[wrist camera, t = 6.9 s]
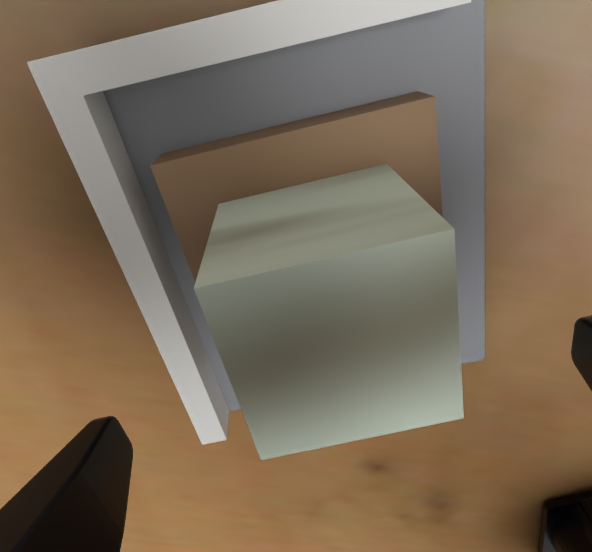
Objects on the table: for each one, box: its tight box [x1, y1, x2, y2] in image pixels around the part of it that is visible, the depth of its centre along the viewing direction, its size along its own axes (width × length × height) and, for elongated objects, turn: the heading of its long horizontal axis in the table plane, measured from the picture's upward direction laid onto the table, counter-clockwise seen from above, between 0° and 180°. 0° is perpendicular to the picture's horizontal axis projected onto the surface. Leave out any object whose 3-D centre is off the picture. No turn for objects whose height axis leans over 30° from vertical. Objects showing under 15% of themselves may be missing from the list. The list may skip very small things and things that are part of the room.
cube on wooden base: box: [150, 91, 464, 460], centre depth 12 cm, size 8×8×6 cm
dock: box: [27, 0, 485, 445], centre depth 15 cm, size 14×12×4 cm
